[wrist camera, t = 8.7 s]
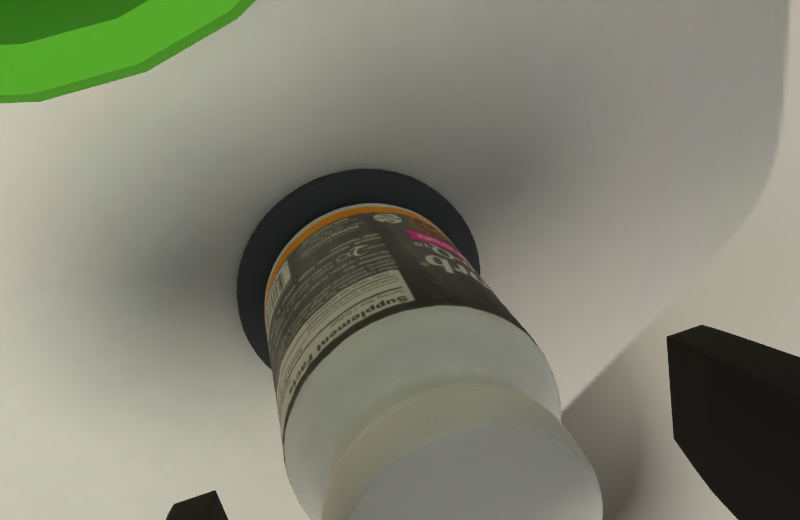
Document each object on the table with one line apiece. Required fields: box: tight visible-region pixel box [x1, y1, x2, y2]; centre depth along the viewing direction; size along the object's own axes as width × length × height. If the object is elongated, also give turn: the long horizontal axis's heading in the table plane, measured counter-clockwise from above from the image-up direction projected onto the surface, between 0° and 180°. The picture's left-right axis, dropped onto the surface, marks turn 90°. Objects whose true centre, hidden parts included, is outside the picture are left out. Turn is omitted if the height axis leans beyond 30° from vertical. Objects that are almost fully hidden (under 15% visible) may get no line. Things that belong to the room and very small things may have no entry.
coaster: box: [237, 169, 480, 370], centre depth 21 cm, size 7×7×1 cm
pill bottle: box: [265, 203, 603, 520], centre depth 16 cm, size 6×6×10 cm
